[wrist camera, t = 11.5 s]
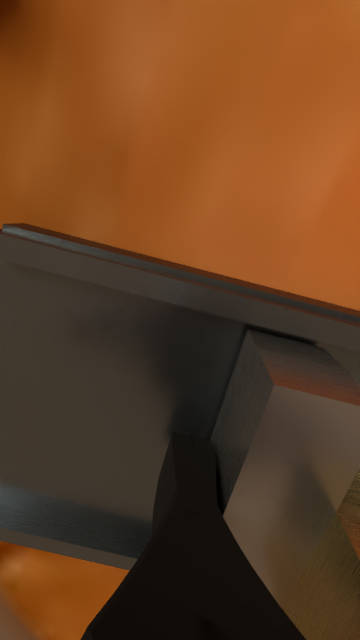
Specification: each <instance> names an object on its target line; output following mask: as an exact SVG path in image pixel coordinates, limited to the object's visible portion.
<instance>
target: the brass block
mask: <svg viewBox="0 0 360 640" xmlns="http://www.w3.org/2000/svg"><path fill="white" fill-rule="evenodd" d="M283 611H284V612H285V613H286V614H287V616H288V617H289V618H290V620H291V621H292V622H293V623H294V625H295V626H296V627H297V629H298V630H299V631H300V632H301V634H302V635H303V636H304V637H305V638H306V640H360V469H359V471H358V472H357V474H356V476H355V478H354V480H353V482H352V484H351V486H350V487H349V489H348V491H347V493H346V495H345V497H344V499H343V500H342V502H341V504H340V506H339V508H338V510H337V512H336V513H335V515H334V517H333V519H332V521H331V522H330V524H329V526H328V528H327V530H326V532H325V534H324V536H323V537H322V539H321V541H320V543H319V545H318V547H317V549H316V550H315V552H314V554H313V556H312V558H311V560H310V562H309V563H308V565H307V567H306V569H305V571H304V573H303V575H302V576H301V578H300V580H299V582H298V584H297V586H296V588H295V589H294V591H293V593H292V595H291V597H290V599H289V601H288V603H287V604H286V606H285V608H284V610H283Z"/></svg>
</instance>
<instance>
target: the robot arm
mask: <svg viewBox="0 0 360 640" xmlns="http://www.w3.org/2000/svg"><path fill="white" fill-rule="evenodd" d="M81 640H306V638H305V637H304V636H303V635H302V634H301V632H300V631H299V630H298V629H297V627H296V626H295V625H294V623H293V622H292V621H291V620H290V618H289V617H288V616H287V614H286V613H285V612H284V611H283V609H282V608H281V607H280V605H279V604H278V603H277V601H276V600H275V599H274V597H273V596H272V594H271V593H270V592H269V590H268V589H267V587H266V586H265V584H264V583H263V581H262V580H261V579H260V577H259V576H258V574H257V573H256V571H255V570H254V569H253V567H252V566H251V564H250V562H249V561H248V559H247V558H246V556H245V554H244V553H243V551H242V550H241V548H240V546H239V544H238V543H237V541H236V539H235V538H234V536H233V534H232V532H231V530H230V529H229V527H228V525H227V523H226V521H225V519H224V517H223V515H222V513H221V511H220V509H219V507H218V505H217V487H216V461H215V453H214V449H213V446H212V442H211V440H207V439H202V438H198V437H194V436H193V437H190V435H186V434H182V433H178V432H173V431H172V434H171V437H170V441H169V444H168V447H167V451H166V454H165V458H164V461H163V465H162V468H161V471H160V475H159V478H158V484H157V490H156V496H155V502H154V508H153V519H152V534H151V539H150V541H149V542H148V544H147V546H146V547H145V549H144V550H143V552H142V554H141V555H140V557H139V558H138V560H137V561H136V563H135V564H134V565H133V567H132V568H131V570H130V571H129V573H128V574H127V575H126V577H125V578H124V580H123V581H122V583H121V584H120V586H119V587H118V588H117V590H116V591H115V592H114V594H113V595H112V596H111V598H110V599H109V600H108V601H107V603H106V604H105V605H104V606H103V608H102V609H101V610H100V612H99V613H98V614H97V615H96V617H95V618H94V619H93V620H92V622H91V623H90V624H89V626H88V627H87V629H86V631H85V633H84V634H83V636H82V638H81Z"/></svg>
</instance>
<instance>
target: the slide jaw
mask: <svg viewBox="0 0 360 640" xmlns="http://www.w3.org/2000/svg"><path fill="white" fill-rule="evenodd" d="M210 440H211V442H212V446H213V449H214V453H215V461H216V487H217V505H218V507H219V509H220V511H221V513H222V515H223V517H224V519H225V521H226V523H227V525H228V527H229V529H230V530H231V532H232V534H233V536H234V538H235V539H236V541H237V543H238V544H239V546H240V548H241V550H242V551H243V553H244V554H245V556H246V558H247V559H248V561H249V562H250V564H251V566H252V567H253V569H254V570H255V571H256V573H257V574H258V576H259V577H260V579H261V580H262V581H263V583H264V584H265V586H266V587H267V589H268V590H269V592H270V593H271V594H272V596H273V597H274V599H275V600H276V601H277V603H278V604H279V605H280V607H281V608H282V609H283V610H284V608H285V606H286V604H287V603H288V601H289V599H290V597H291V595H292V593H293V591H294V589H295V588H296V586H297V584H298V582H299V580H300V578H301V576H302V575H303V573H304V571H305V569H306V567H307V565H308V563H309V562H310V560H311V558H312V556H313V554H314V552H315V550H316V549H317V547H318V545H319V543H320V541H321V539H322V537H323V536H324V534H325V532H326V530H327V528H328V526H329V524H330V522H331V521H332V519H333V517H334V515H335V513H336V512H337V510H338V508H339V506H340V504H341V502H342V500H343V499H344V497H345V495H346V493H347V491H348V489H349V487H350V486H351V484H352V482H353V480H354V478H355V476H356V474H357V472H358V471H359V469H360V384H359V383H358V382H357V381H356V380H355V379H354V378H353V377H352V376H351V375H350V374H349V373H348V372H347V371H346V370H345V369H344V368H343V367H342V366H341V365H340V364H339V363H338V362H337V361H336V360H335V359H334V358H333V357H332V356H331V355H330V354H329V353H328V352H327V351H326V350H325V349H324V348H320V347H317V346H313V345H309V344H305V343H301V342H297V341H293V340H289V339H285V338H281V337H278V336H274V335H270V334H266V333H262V332H258V331H254V330H250V329H248V330H247V333H246V336H245V339H244V342H243V344H242V347H241V350H240V353H239V356H238V359H237V362H236V365H235V368H234V371H233V374H232V377H231V380H230V383H229V386H228V389H227V392H226V394H225V397H224V400H223V403H222V406H221V409H220V412H219V415H218V418H217V421H216V424H215V427H214V430H213V433H212V436H211V439H210Z"/></svg>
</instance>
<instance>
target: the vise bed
mask: <svg viewBox="0 0 360 640" xmlns="http://www.w3.org/2000/svg"><path fill="white" fill-rule="evenodd" d="M0 259H1V260H0V541H4V542H8V543H13V544H17V545H21V546H26V547H30V548H34V549H39V550H43V551H47V552H52V553H56V554H60V555H65V556H69V557H74V558H78V559H82V560H87V561H91V562H95V563H100V564H104V565H108V566H113V567H117V568H122V569H126V570H131V568H132V567H133V565H134V564H135V563H136V561H137V560H138V558H139V557H140V555H141V554H142V552H143V550H144V549H145V547H146V546H147V544H148V542H149V541H150V539H151V534H152V519H153V508H154V502H155V496H156V490H157V484H158V478H159V475H160V471H161V468H162V465H163V461H164V458H165V454H166V451H167V447H168V444H169V441H170V437H171V434H172V431H173V432H178V433H182V434H186V435H190V437H193V436H194V437H198V438H202V439H207V440H210V439H211V436H212V433H213V430H214V427H215V424H216V421H217V418H218V415H219V412H220V409H221V406H222V403H223V400H224V397H225V394H226V392H227V389H228V386H229V383H230V380H231V377H232V374H233V371H234V368H235V365H236V362H237V359H238V356H239V353H240V350H241V347H242V344H243V342H244V339H245V336H246V333H247V330H248V329H250V330H254V331H258V332H262V333H266V334H270V335H274V336H278V337H281V338H285V339H289V340H293V341H297V342H301V343H305V344H309V345H313V346H317V347H320V348H324V349H325V350H326V351H327V352H328V353H329V354H330V355H331V356H332V357H333V358H334V359H335V360H336V361H337V362H338V363H339V364H340V365H341V366H342V367H343V368H344V369H345V370H346V371H347V372H348V373H349V374H350V375H351V376H352V377H353V378H354V379H355V380H356V381H357V382H358V383H359V384H360V311H357V310H354V309H350V308H346V307H342V306H338V305H335V304H331V303H327V302H323V301H319V300H315V299H312V298H308V297H304V296H300V295H296V294H292V293H289V292H285V291H281V290H277V289H273V288H269V287H266V286H262V285H258V284H254V283H250V282H246V281H243V280H239V279H235V278H231V277H227V276H223V275H220V274H216V273H212V272H208V271H204V270H200V269H197V268H193V267H189V266H185V265H181V264H177V263H174V262H170V261H166V260H162V259H158V258H154V257H151V256H147V255H143V254H139V253H135V252H132V251H128V250H124V249H120V248H116V247H112V246H109V245H105V244H101V243H97V242H93V241H89V240H86V239H82V238H78V237H74V236H70V235H66V234H63V233H59V232H55V231H51V230H47V229H43V228H40V227H36V226H32V225H28V224H24V223H18V224H3V229H0Z"/></svg>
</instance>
